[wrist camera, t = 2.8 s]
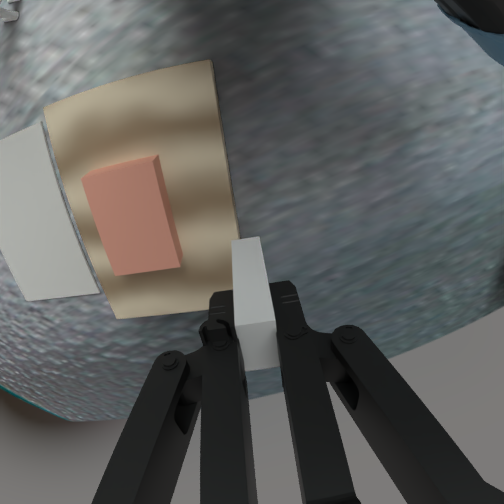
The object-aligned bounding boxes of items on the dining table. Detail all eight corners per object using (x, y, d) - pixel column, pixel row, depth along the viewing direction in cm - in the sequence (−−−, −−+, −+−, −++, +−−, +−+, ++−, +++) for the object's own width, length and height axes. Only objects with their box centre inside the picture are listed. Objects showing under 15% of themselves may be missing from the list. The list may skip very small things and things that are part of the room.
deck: (64, 102, 23) (43, 107, 20) (212, 62, 23) (209, 59, 20) (125, 295, 35) (117, 319, 31) (247, 279, 35) (249, 303, 31)
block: (90, 170, 23) (80, 178, 22) (158, 154, 23) (152, 160, 21) (121, 263, 28) (115, 276, 26) (183, 254, 28) (180, 267, 26)
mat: (-31, 156, 24) (-33, 157, 24) (42, 121, 24) (40, 121, 24) (27, 299, 34) (26, 301, 34) (100, 291, 34) (99, 293, 34)
